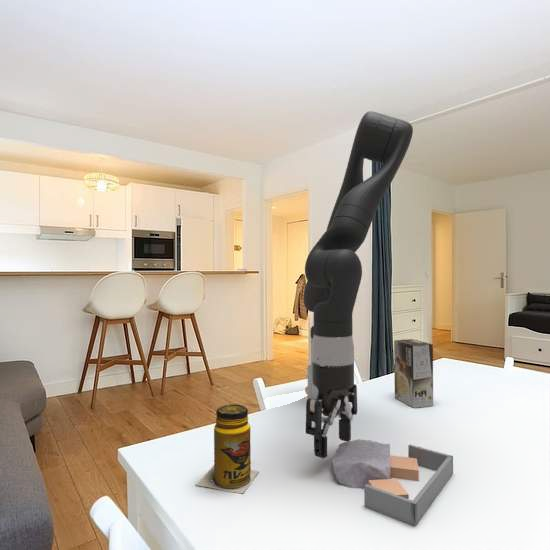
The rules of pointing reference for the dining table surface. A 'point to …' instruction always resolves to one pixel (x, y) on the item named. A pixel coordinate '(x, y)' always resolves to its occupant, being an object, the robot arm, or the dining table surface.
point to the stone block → (361, 462)
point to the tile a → (389, 486)
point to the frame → (418, 506)
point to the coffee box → (413, 372)
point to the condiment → (230, 451)
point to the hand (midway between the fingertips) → (333, 448)
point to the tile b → (404, 468)
